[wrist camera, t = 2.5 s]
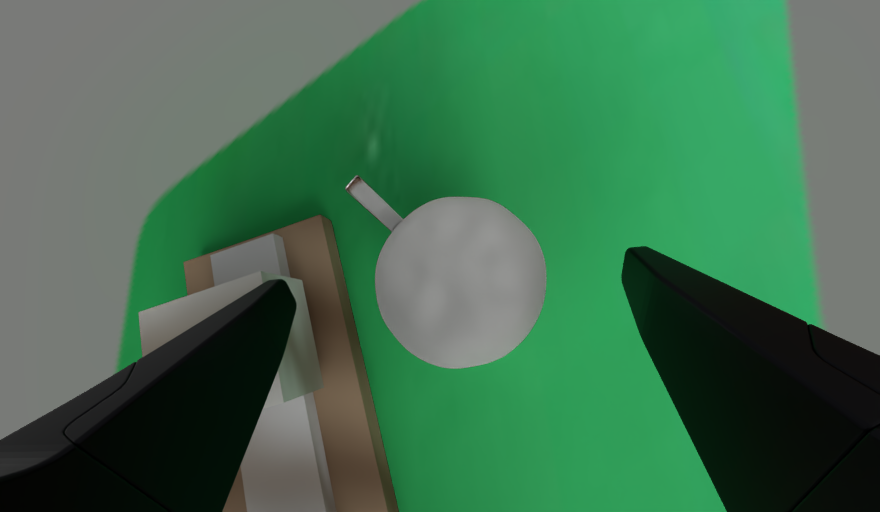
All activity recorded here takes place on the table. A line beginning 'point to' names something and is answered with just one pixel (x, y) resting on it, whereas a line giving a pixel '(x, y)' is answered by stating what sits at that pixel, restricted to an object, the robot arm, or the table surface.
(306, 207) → the table surface
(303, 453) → the wooden board with pads
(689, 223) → the table surface
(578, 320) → the table surface
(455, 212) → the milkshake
